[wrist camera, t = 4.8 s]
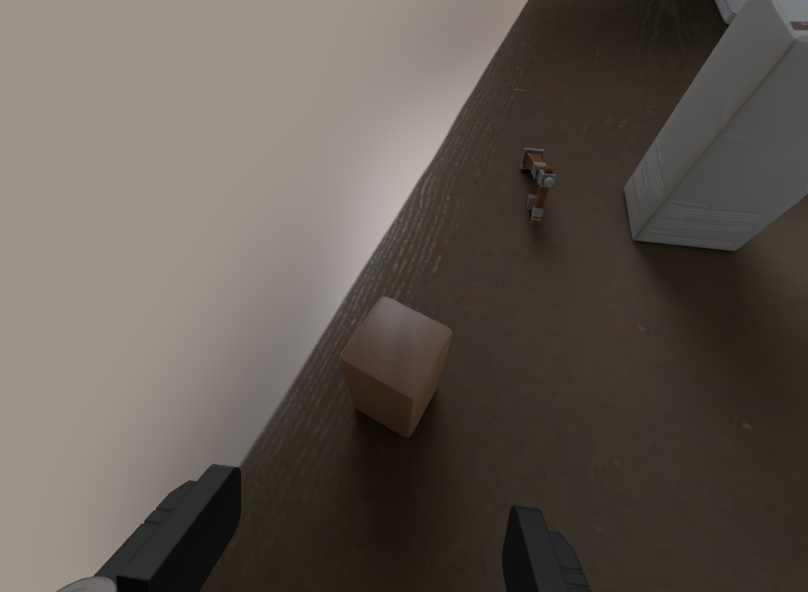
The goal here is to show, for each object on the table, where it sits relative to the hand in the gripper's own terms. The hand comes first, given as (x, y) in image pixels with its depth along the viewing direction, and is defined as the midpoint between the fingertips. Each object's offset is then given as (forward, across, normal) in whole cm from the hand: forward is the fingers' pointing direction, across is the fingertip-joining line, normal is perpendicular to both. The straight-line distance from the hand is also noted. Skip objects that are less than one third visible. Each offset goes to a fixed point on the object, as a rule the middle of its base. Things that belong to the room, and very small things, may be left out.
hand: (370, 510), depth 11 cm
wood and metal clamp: (+26, -10, -11) cm, 30 cm away
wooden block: (+13, 0, +3) cm, 13 cm away
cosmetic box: (+25, -21, -9) cm, 34 cm away
